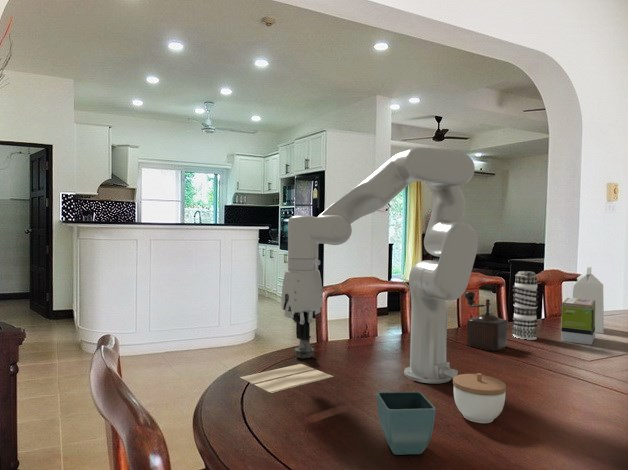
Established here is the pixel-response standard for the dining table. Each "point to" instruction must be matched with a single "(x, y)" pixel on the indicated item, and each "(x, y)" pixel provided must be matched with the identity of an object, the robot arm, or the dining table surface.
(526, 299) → the decorative candle
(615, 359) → the dining table surface
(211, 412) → the dining table surface
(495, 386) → the lidded jar
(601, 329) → the milk
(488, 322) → the dark brown coffee grinder
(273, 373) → the floor strip
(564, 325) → the tea box
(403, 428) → the flower pot
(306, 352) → the salt shaker
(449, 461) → the dining table surface
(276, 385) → the plank
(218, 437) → the dining table surface
